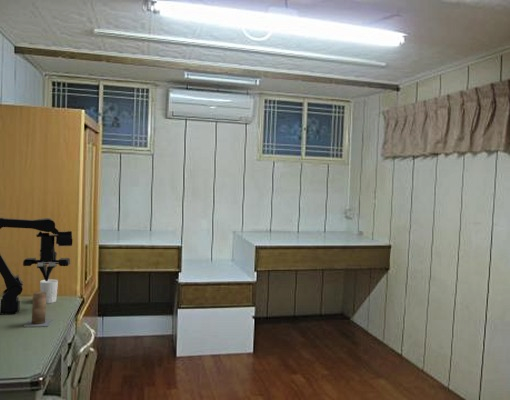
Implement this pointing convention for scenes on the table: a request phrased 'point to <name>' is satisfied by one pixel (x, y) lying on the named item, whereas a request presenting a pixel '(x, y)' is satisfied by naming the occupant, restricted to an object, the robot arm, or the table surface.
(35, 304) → the walnut cylinder
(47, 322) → the slate mat
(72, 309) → the table surface
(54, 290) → the white cup
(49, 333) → the table surface
